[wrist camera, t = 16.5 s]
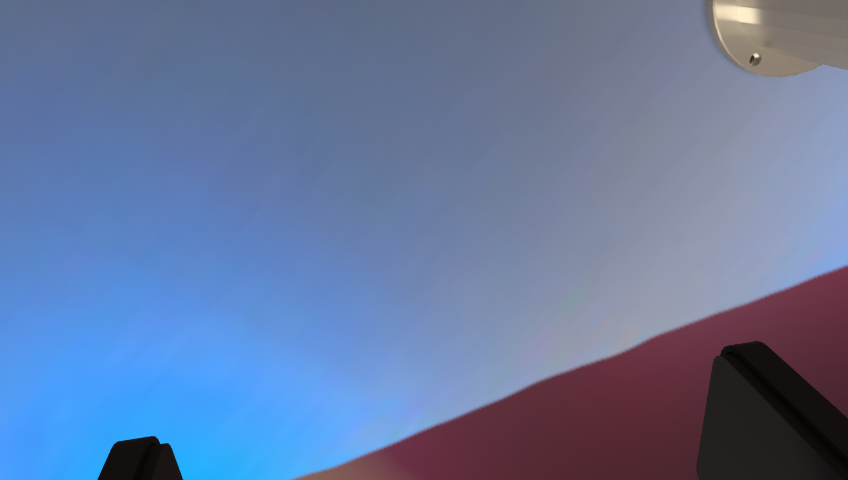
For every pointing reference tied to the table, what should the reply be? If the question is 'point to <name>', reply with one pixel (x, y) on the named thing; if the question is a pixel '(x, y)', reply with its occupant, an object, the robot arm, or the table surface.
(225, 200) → the table surface
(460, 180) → the table surface
